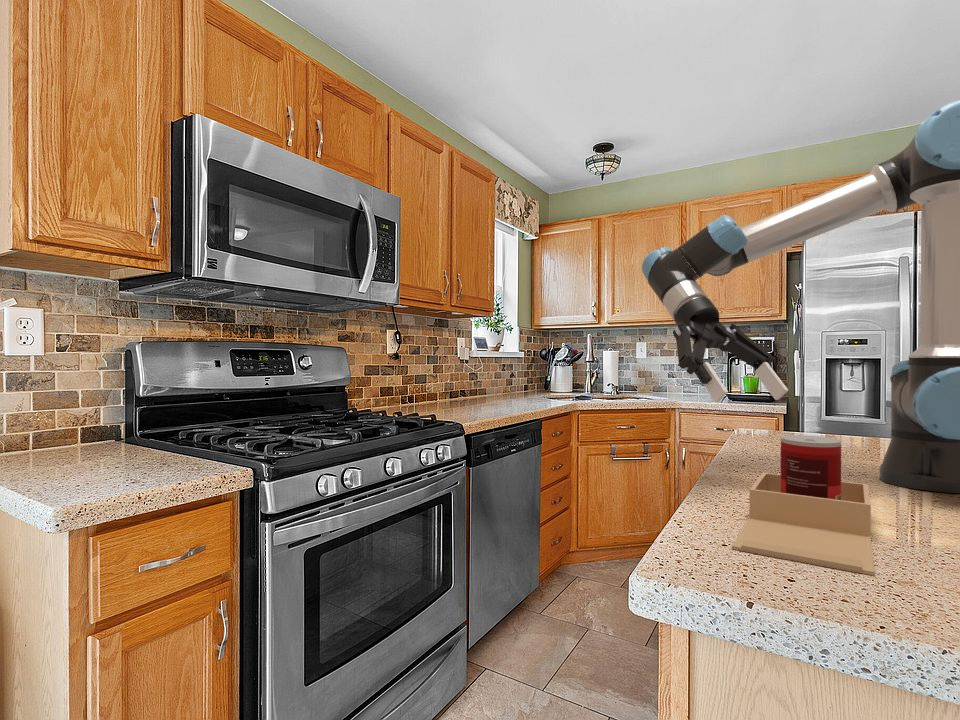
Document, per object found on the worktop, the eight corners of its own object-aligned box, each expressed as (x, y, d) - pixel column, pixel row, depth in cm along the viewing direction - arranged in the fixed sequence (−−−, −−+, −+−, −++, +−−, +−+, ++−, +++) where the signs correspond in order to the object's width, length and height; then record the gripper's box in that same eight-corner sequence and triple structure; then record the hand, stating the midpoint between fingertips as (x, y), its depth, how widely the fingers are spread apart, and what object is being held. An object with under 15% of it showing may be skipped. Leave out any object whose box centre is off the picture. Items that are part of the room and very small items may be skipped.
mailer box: (762, 499, 90) (762, 472, 90) (867, 513, 82) (867, 484, 82) (731, 549, 66) (731, 512, 66) (874, 576, 58) (874, 534, 58)
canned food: (822, 505, 84) (822, 435, 84) (853, 521, 76) (853, 443, 76) (770, 504, 85) (771, 434, 84) (796, 519, 77) (796, 442, 77)
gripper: (729, 325, 112) (791, 407, 98) (628, 322, 102) (682, 412, 89) (751, 298, 106) (820, 380, 93) (648, 292, 97) (707, 382, 84)
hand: (752, 396), depth 91 cm, fingers open, 13 cm apart
